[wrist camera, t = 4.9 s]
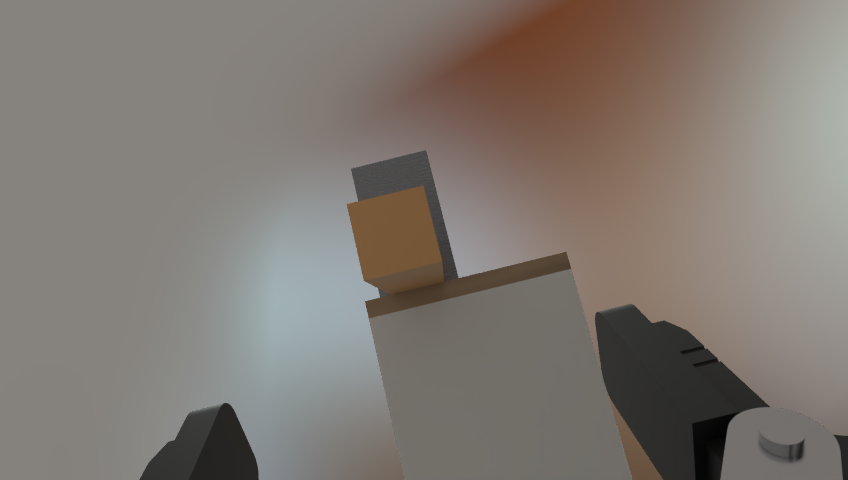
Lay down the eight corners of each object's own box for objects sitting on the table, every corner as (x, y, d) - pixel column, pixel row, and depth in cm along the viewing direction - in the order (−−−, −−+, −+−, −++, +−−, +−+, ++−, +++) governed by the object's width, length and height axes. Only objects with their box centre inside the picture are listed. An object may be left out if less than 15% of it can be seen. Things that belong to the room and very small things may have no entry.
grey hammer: (466, 255, 16) (413, 51, 17) (340, 286, 16) (296, 80, 17) (457, 288, 31) (429, 176, 32) (391, 304, 31) (365, 192, 32)
